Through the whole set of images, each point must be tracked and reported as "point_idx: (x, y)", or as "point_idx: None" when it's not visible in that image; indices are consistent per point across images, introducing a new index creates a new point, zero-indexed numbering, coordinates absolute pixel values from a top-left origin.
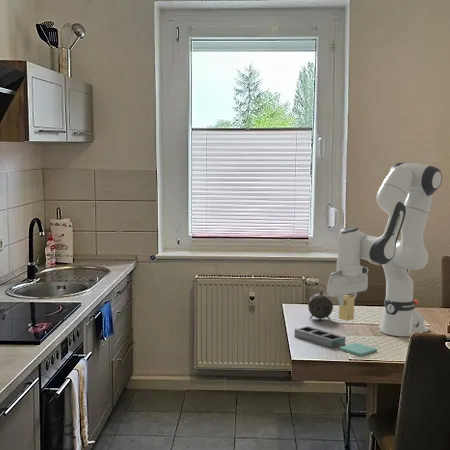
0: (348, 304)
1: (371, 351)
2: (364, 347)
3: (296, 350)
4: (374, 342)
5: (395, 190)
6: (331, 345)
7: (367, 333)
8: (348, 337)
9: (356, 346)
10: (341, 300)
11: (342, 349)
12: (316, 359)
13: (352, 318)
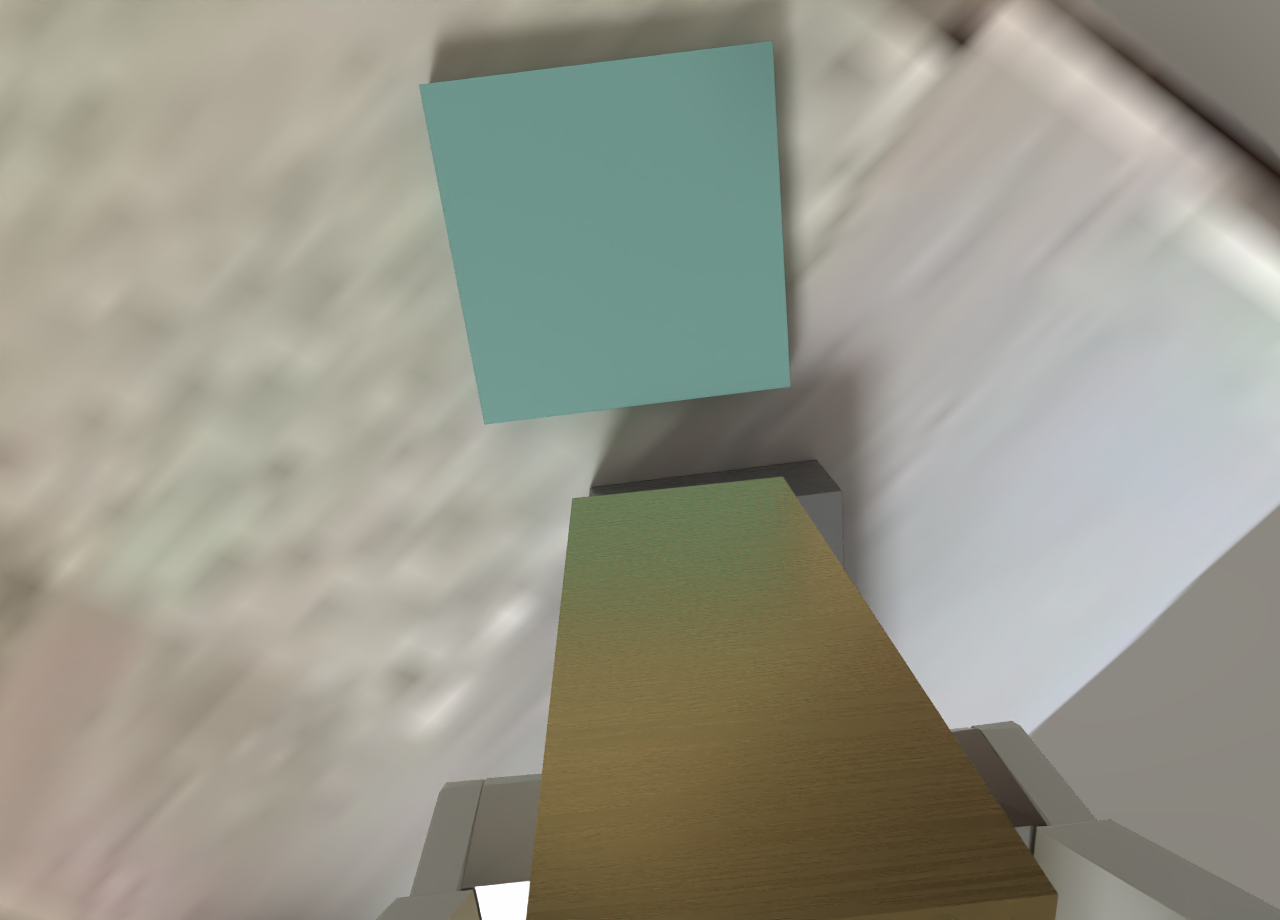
0: (857, 683)
1: (538, 71)
2: (531, 220)
3: (1163, 577)
4: (209, 383)
5: None
6: (825, 475)
7: (71, 665)
8: (376, 653)
9: (592, 304)
10: (1181, 886)
11: (784, 339)
12: (1260, 248)
13: (608, 503)
